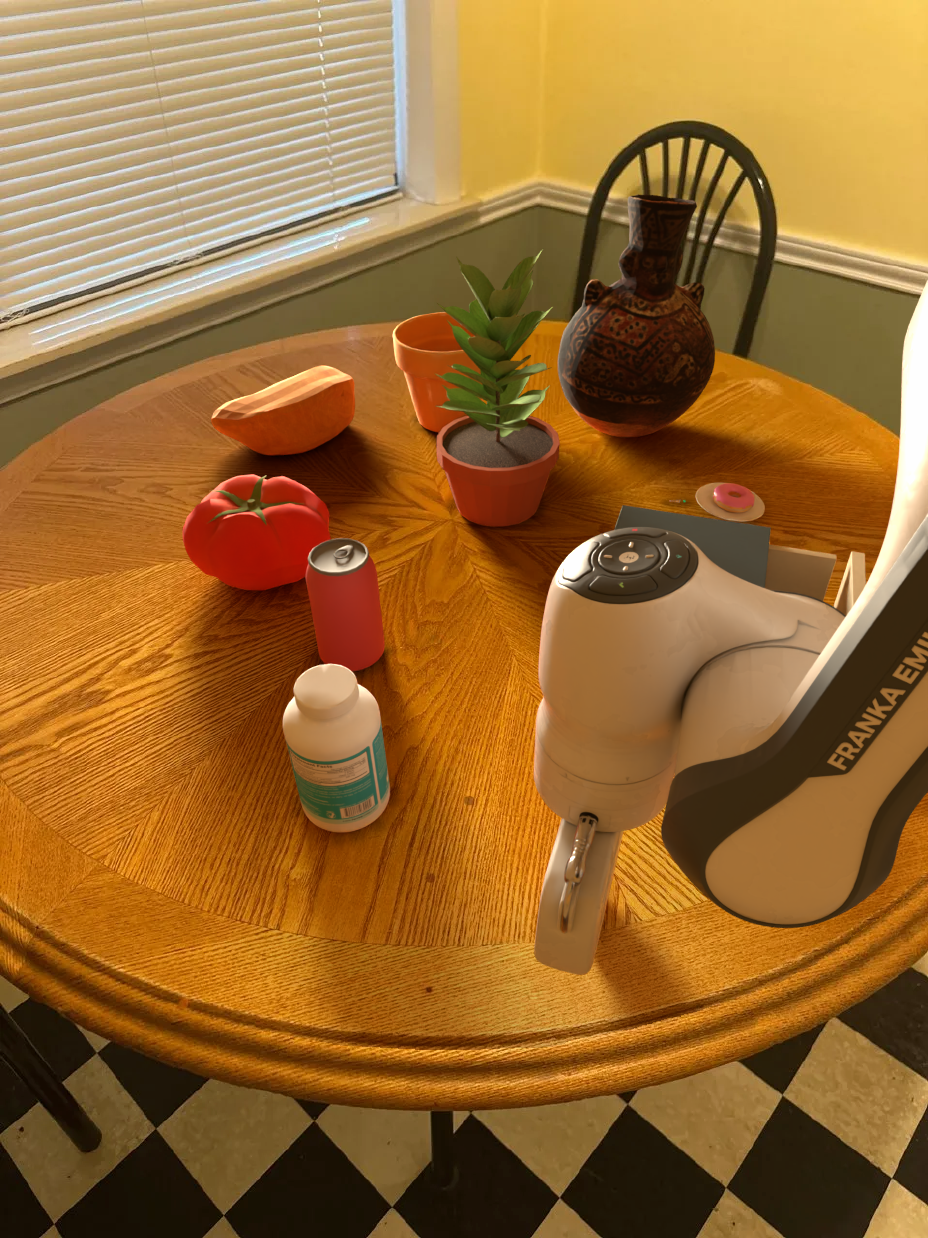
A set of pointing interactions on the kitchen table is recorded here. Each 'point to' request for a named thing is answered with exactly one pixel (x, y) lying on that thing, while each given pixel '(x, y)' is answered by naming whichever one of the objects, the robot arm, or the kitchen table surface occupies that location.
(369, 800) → the pill bottle
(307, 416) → the orange oblong lump
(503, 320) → the potted plant
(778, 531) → the kitchen table surface
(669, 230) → the ceramic vessel
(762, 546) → the drawer cabinet
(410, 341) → the flower pot
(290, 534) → the tomato
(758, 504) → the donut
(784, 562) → the wooden pull-out drawer
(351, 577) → the beer can
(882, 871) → the robot arm
